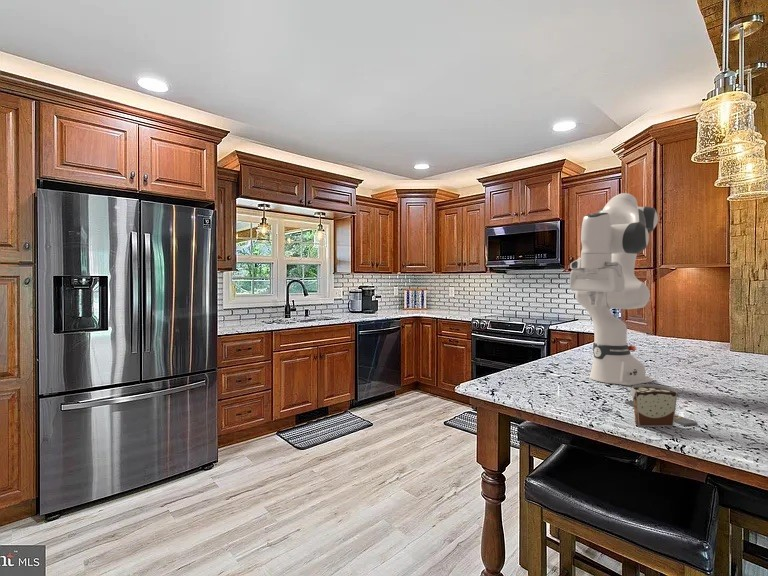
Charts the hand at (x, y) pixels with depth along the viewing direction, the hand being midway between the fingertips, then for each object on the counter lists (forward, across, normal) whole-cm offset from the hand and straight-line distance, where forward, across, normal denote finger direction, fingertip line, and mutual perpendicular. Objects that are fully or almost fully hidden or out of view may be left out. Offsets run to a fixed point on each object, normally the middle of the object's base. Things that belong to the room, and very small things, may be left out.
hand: (595, 305), depth 130 cm
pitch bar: (+31, -14, -10) cm, 36 cm away
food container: (+31, -19, -1) cm, 37 cm away
